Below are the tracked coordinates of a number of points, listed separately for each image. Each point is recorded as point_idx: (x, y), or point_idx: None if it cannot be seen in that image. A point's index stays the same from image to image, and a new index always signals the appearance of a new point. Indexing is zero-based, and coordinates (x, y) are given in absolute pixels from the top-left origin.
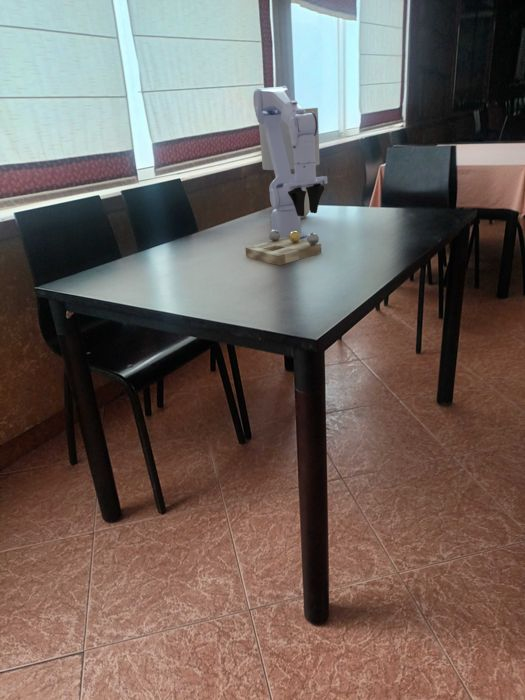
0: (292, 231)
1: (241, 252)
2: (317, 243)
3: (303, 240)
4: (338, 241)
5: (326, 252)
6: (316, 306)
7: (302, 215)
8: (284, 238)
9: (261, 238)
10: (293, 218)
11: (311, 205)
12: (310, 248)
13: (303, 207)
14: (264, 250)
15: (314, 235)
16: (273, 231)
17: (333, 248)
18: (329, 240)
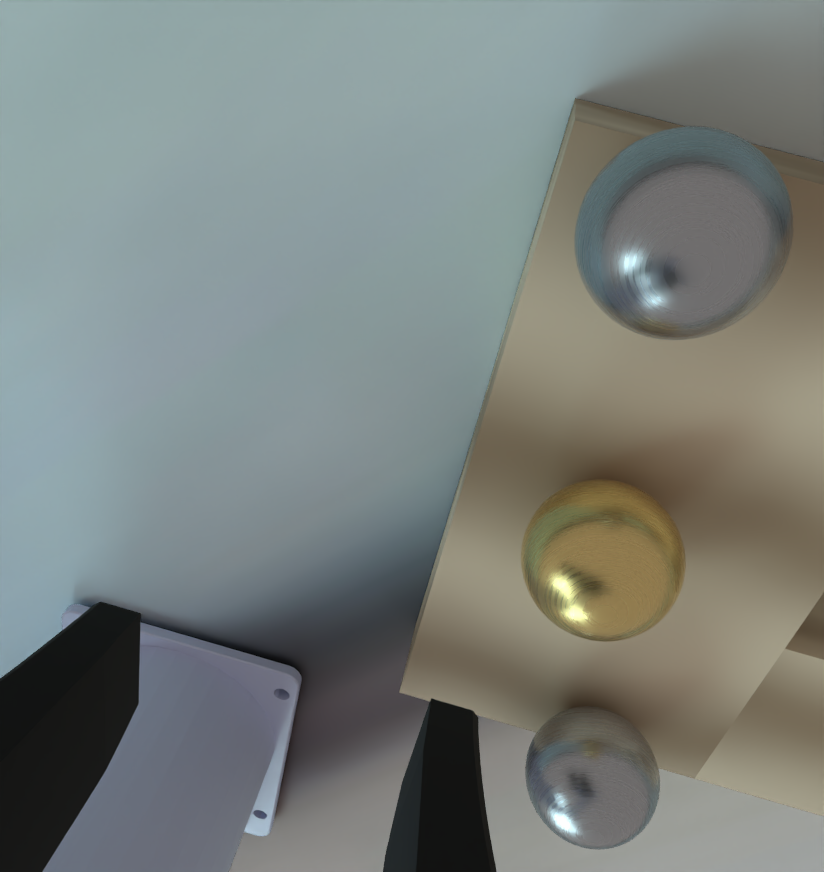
0: (619, 630)
1: (771, 840)
2: (573, 189)
3: (477, 463)
4: (21, 208)
5: (530, 37)
6: None
7: (472, 719)
8: (469, 682)
9: (316, 861)
10: (116, 835)
11: (61, 801)
12: (795, 174)
13: (441, 857)
14: None
15: (745, 192)
16: (633, 822)
17: (311, 67)
18: (52, 333)
